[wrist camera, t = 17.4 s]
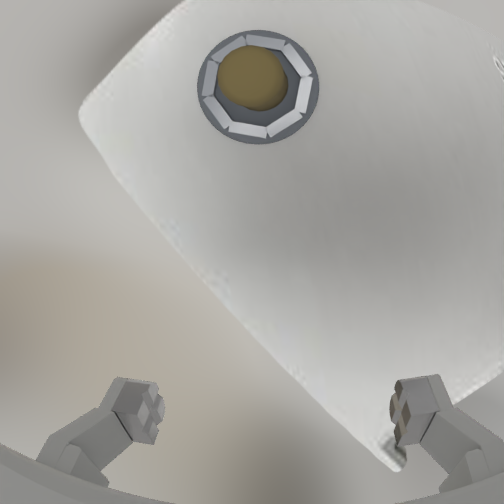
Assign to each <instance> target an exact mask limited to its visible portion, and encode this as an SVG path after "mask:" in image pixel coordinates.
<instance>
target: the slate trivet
mask: <svg viewBox="0 0 504 504" xmlns="http://www.w3.org/2000/svg"><path fill="white" fill-rule="evenodd" d="M248 45H254V46H260V47H263V48H265V49H267V50H269V51H271V52H272V53H273V54H274V55H275V56H276V57H277V58H278V59H279V61H280V63H281V65H282V67H283V70H284V72H285V74H286V76H287V78H288V91H287V95H286V96H285V98H284V100H283V101H282V102H281V103H280V104H279V105H278V106H276V107H275V108H272V109H270V110H268V111H259V112H258V111H253V110H249V109H247V108H245V107H244V106H239V105H237V104H235V103H233V102H231V101H230V100H229V99H228V98H227V97H226V96H225V95H224V94H223V93H222V91H221V89H220V87H219V85H218V78H217V74H218V69H219V65H220V64H221V62H222V60H223V59H224V57H225V56H226V55H227V54H229V53H230V52H231V51H232V50H234V49H237V48H239V47H241V46H248ZM197 92H198V98H199V102H200V105H201V108H202V110H203V112H204V114H205V116H206V117H207V119H208V120H209V121H210V123H211V124H212V125H213V126H214V127H215V128H216V129H217V130H219V131H220V132H221V133H223V134H224V135H226V136H228V137H230V138H232V139H234V140H237V141H240V142H244V143H250V144H266V143H272V142H276V141H279V140H282V139H284V138H286V137H288V136H290V135H292V134H293V133H295V132H296V131H298V130H299V129H300V128H301V127H302V126H303V125H304V124H305V123H306V122H307V120H308V119H309V118H310V116H311V114H312V113H313V111H314V108H315V106H316V103H317V99H318V93H319V81H318V75H317V71H316V68H315V66H314V64H313V62H312V60H311V58H310V57H309V55H308V54H307V53H306V52H305V50H304V49H303V48H302V47H301V46H300V45H298V44H297V43H296V42H294V41H293V40H291V39H290V38H288V37H286V36H284V35H281V34H278V33H275V32H271V31H264V30H252V31H245V32H241V33H238V34H235V35H233V36H230V37H228V38H227V39H225V40H223V41H222V42H221V43H219V44H218V45H217V46H216V47H215V48H214V49H213V50H212V51H211V52H210V53H209V54H208V56H207V57H206V59H205V61H204V62H203V64H202V67H201V69H200V72H199V76H198V83H197Z"/></svg>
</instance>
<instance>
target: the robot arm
mask: <svg viewBox="0 0 504 504" xmlns="http://www.w3.org/2000/svg"><path fill="white" fill-rule="evenodd" d="M394 388H395V392H396V393H395V394H393V395H392V397H391V400H390V409H389V410H390V417H391V421H392V422H393V423H394V424H395V425H396V427H395V429H394V435H395V439H396V444H397V446H404V445H410V444H417V443H420V445H421V446H422V447H423V448H424V449H425V450H426V451H427V452H428V453H429V454H430V455H431V456H432V458H433V459H434V460H436V462H437V463H438V464H439V465H441V467H442V468H443V469H444V470H445V471H446V472H447V473H448V474H449V476H448V477H447V478H446V479H445V480H444V482H443V483H442V484H441V485H440V487H439V491H440V493H439V494H436V495H432V496H428V497H424V498H420V499H415V500H411V501H406V502H401V503H396V504H504V442H503V440H502V439H501V438H499V437H498V436H497V435H495V434H494V433H492V432H491V431H490V430H488V429H486V428H485V427H484V426H482V425H481V424H480V423H478V422H477V421H475V420H474V419H472V418H471V417H470V416H468V415H467V414H465V413H464V412H463V411H461V410H460V409H459V408H454V407H453V405H452V403H451V400H450V398H449V395H448V393H447V391H446V388H445V386H444V384H443V381H442V379H441V377H440V375H438V374H435V375H429V376H421V377H415V378H408V379H401V380H398V381H397V382H396V384H395V387H394ZM158 390H159V388H158V386H157V384H156V383H155V382H148V381H142V380H134V379H128V378H121V377H117V378H115V379H114V380H113V382H112V384H111V386H110V388H109V389H108V391H107V393H106V395H105V397H104V399H103V401H102V402H101V404H100V406H99V408H94V409H92V410H91V411H89V412H88V413H86V414H84V415H83V416H81V417H79V418H78V419H76V420H75V421H73V422H71V423H70V424H68V425H67V426H65V427H63V428H62V429H60V430H58V431H57V432H55V433H53V434H52V435H50V436H49V438H48V439H47V441H46V443H45V444H44V446H43V448H42V450H41V452H40V453H39V455H38V457H37V459H36V460H33V459H31V458H29V457H27V456H25V455H23V454H21V453H19V452H17V451H15V450H12V449H11V448H9V447H7V446H5V445H3V444H1V443H0V504H174V503H168V502H163V501H158V500H154V499H149V498H144V497H141V496H137V495H132V494H129V493H125V492H121V491H118V490H114V489H111V488H107V487H108V484H109V481H108V479H107V478H106V477H105V476H104V475H103V474H102V473H101V470H102V469H103V468H104V467H105V466H107V465H108V464H109V463H110V462H111V461H112V460H114V459H115V458H116V457H117V456H118V455H119V454H121V453H122V452H123V451H124V450H125V449H126V448H127V447H128V446H130V445H131V444H132V443H133V442H139V443H145V444H151V445H154V443H155V440H156V437H157V434H158V432H159V430H158V428H157V425H158V424H159V423H160V422H162V420H163V417H164V413H165V404H164V400H163V398H162V397H161V396H160V395H159V394H158ZM132 441H133V442H132Z"/></svg>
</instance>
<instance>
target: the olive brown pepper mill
mask: <svg viewBox="0 0 504 504" xmlns="http://www.w3.org/2000/svg"><path fill="white" fill-rule="evenodd" d="M217 78H218V85H219V87H220V89H221V91H222V93H223V94H224V95H225V96H226V97H227V98H228V99H229V100H230V101H231V102H233V103H235V104H237V105H239V106H244V107H245V108H247V109H249V110H253V111H258V112H259V111H268V110H270V109H272V108H275V107H276V106H278V105H279V104H280V103H281V102H282V101H283V100H284V98H285V96H286V95H287V91H288V78H287V76H286V74H285V72H284V70H283V67H282V65H281V63H280V61H279V59H278V58H277V57H276V56H275V55H274V54H273V53H272V52H271V51H269V50H267V49H265V48H263V47H260V46H254V45H248V46H241V47H239V48H237V49H234V50H232V51H231V52H230V53H229V54H227V55H226V56H225V57H224V59H223V60H222V62H221V64H220V65H219V69H218V74H217Z"/></svg>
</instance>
